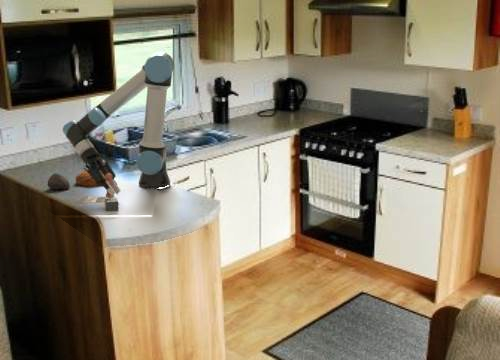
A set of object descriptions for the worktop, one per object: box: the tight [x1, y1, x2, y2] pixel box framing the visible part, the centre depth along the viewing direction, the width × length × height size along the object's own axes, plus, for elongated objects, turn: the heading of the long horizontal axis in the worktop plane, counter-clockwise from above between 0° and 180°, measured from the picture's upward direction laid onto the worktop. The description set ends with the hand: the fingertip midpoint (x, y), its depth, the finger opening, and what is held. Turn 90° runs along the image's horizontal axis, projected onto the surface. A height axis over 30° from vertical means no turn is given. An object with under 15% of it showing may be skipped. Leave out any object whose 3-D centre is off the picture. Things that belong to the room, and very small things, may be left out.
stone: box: [47, 173, 71, 190], centre depth 293 cm, size 10×8×10 cm
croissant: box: [75, 170, 106, 188], centre depth 301 cm, size 14×16×8 cm
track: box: [76, 196, 117, 204], centre depth 275 cm, size 16×8×1 cm, turn 94°
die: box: [104, 197, 119, 212], centre depth 263 cm, size 5×5×5 cm
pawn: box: [105, 173, 115, 198], centre depth 274 cm, size 4×4×11 cm
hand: (116, 193), depth 273 cm, fingers closed on pawn, 2 cm apart
